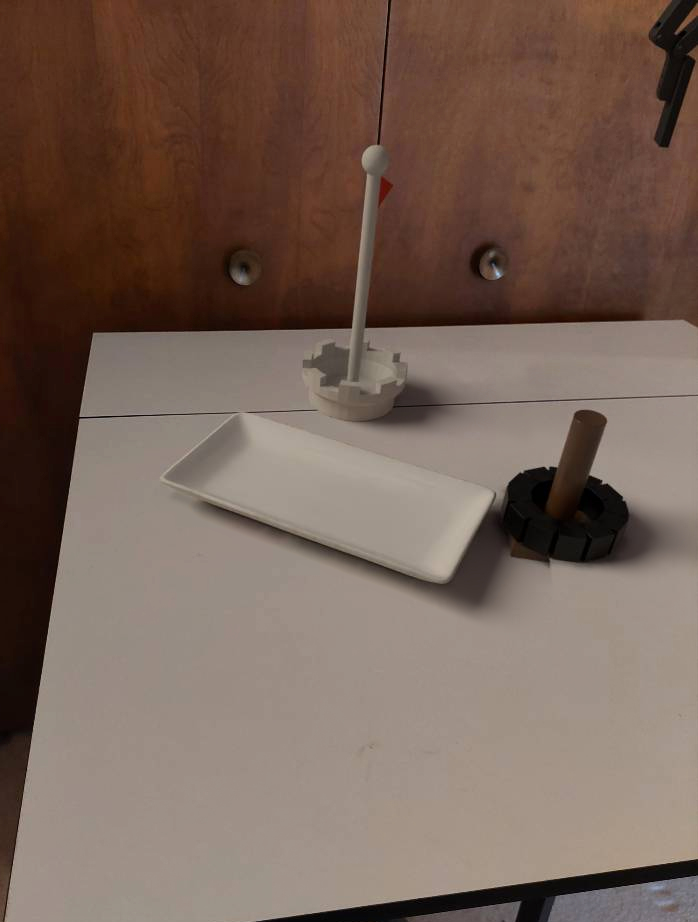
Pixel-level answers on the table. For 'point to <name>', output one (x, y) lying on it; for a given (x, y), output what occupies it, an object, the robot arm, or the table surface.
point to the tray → (336, 495)
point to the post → (570, 475)
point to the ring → (562, 535)
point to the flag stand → (358, 332)
